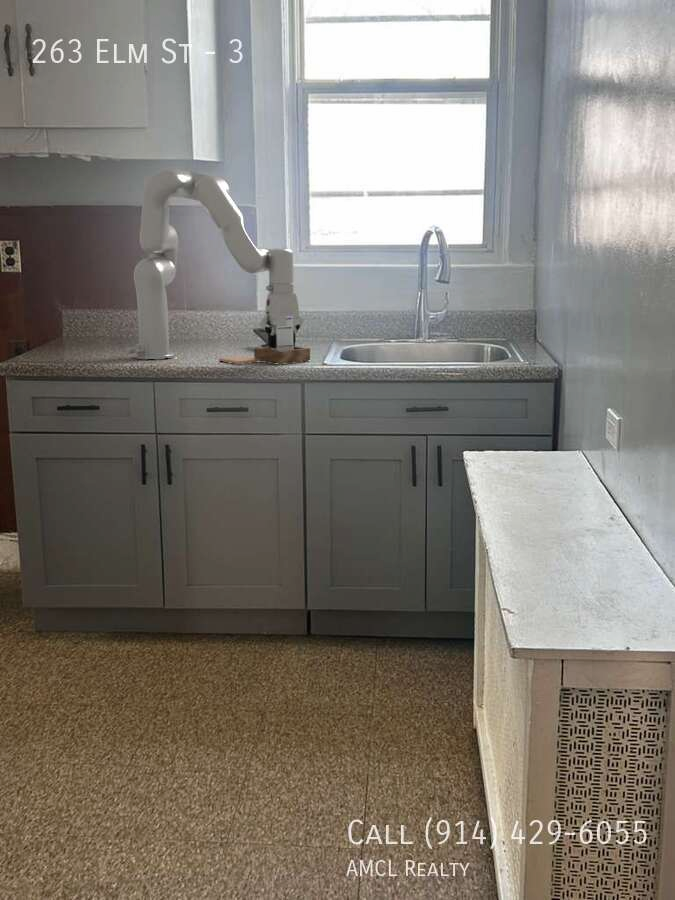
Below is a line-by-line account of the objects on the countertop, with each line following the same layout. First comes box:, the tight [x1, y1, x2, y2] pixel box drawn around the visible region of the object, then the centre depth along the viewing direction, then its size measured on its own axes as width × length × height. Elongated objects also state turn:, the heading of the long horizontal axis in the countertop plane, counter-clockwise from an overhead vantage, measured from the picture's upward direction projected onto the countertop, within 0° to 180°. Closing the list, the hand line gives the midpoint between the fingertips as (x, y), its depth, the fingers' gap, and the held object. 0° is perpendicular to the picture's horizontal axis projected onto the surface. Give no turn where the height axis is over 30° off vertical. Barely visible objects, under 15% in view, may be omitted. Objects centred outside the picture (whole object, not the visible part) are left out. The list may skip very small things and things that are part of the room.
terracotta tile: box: [218, 355, 261, 365], centre depth 329 cm, size 10×10×1 cm
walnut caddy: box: [253, 345, 311, 364], centre depth 330 cm, size 12×12×4 cm
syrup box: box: [271, 316, 294, 351], centre depth 329 cm, size 6×6×14 cm
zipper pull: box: [252, 327, 269, 348], centre depth 353 cm, size 9×7×25 cm
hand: (282, 346), depth 329 cm, fingers closed on syrup box, 6 cm apart
